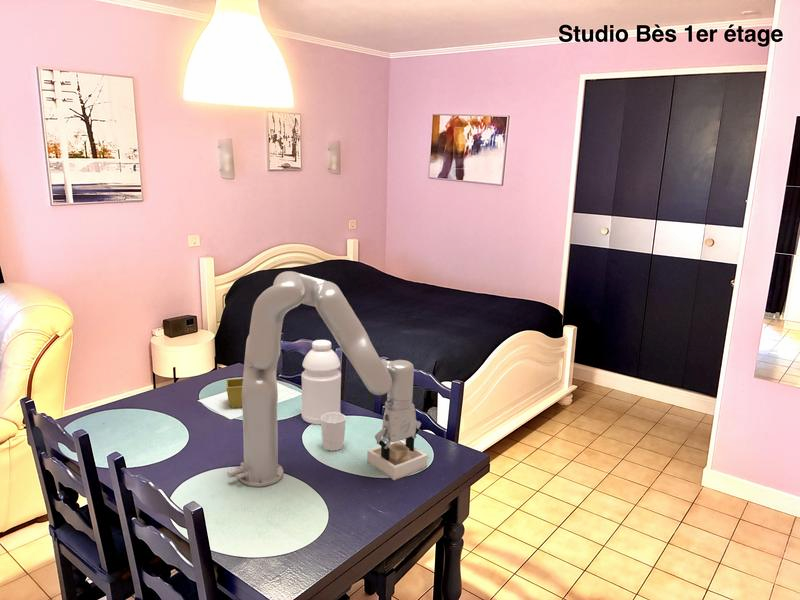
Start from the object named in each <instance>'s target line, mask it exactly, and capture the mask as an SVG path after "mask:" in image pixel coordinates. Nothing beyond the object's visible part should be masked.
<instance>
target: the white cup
mask: <svg viewBox="0 0 800 600" xmlns="http://www.w3.org/2000/svg"><path fill="white" fill-rule="evenodd" d="M346 418H347V417H346V415H345V414H343V413H335V412H332V413H326V414H324V415H322V416H321V424H320V426H321V430H320V431H321V440H322V448H323V449H324V450H326V451H329V450H330V452H331V451H332V450H333V451H334V452H335V450H336V451H340V450H342V449H343V448H344V445H345V437H346V436H345V435H346V420H347V419H346ZM341 448H342V449H341ZM339 449H340V450H339ZM333 451H332V452H333Z"/></svg>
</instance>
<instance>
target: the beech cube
mask: <svg viewBox="0 0 800 600" xmlns="http://www.w3.org/2000/svg"><path fill="white" fill-rule="evenodd" d="M388 448H390V456H389V460H388V461H389V462H390V463H392V464H394V465H398V464H401V463H403V462H406V461H408V460H409V448H408V447H406V446H404V445H403V444H401V443H399V442H398V443H395V444H392V445H389V447H388Z"/></svg>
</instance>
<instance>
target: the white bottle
mask: <svg viewBox="0 0 800 600" xmlns="http://www.w3.org/2000/svg"><path fill="white" fill-rule="evenodd" d="M340 367H341V362H340V358H339V356H338V355H337V353H336V352H335V351H334V349H332V342H331V341H330V340H327V339H315V340H314V341H312V343H311V349H310V350H309V351H308V352H307V353H306V355H305V357H304V359H303V361H302V368H303V369H304V370H303V371H302V372H301V419H302V420H303V421H304V422H307V424H308V423H309V424H313V425H321V416H322V415H324V414H326V413H332V412H335V413H341V392H342V391H341V389H342V388H341V387H342V372H341V371H340V370H339V368H340ZM341 414H342V413H341Z"/></svg>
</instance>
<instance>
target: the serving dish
mask: <svg viewBox="0 0 800 600" xmlns="http://www.w3.org/2000/svg"><path fill="white" fill-rule="evenodd" d="M398 442H399V443H401V444H403V445H404V446H406V441H405V442H404V441H403V440H400V441H397V442H391V443H390V445H392V444H395V443H398ZM428 456H429V455H428V454H426V453H425V452H424V451H421V450H419V449H418V448H416V447H415V446H414V451H410V450H409V460H408V461H406V462H403V463H401V464H398V465H394V464H392V463H390V462H389V461H387V460H386V459H384V458H383V457H381V446H380V445H379V446H377V447H374V448H371V449H368V450H367V461H366V462H368V463H367V464H368V465H370V464H371V465H370V466H371V467H373V466H374V467H373V468H375V469H376V470H377V471H379V470H380V471H379V472H381V473H382V472H383V474H384V475H385V476H386V477H389V478H390V479H391V480H393V481H396V480H398V479H402V478H404V477H406V476H409V475H412V474H414V473H416V472H419V471H421V470H423V469H426V468H428V460H429V459H428V458H429V457H428Z"/></svg>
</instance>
